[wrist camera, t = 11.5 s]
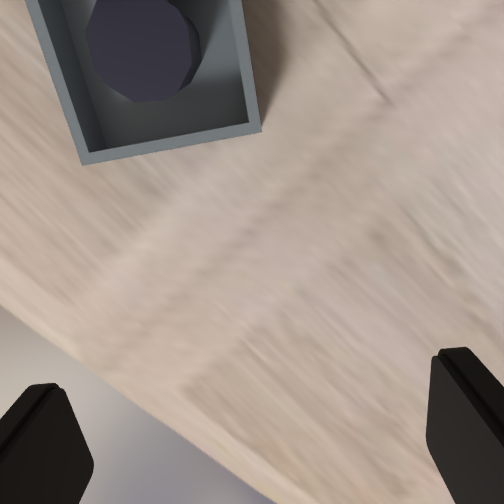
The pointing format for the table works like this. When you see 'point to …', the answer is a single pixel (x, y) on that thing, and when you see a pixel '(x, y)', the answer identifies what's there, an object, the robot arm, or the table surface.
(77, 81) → the open box
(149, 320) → the table surface
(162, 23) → the speaker
